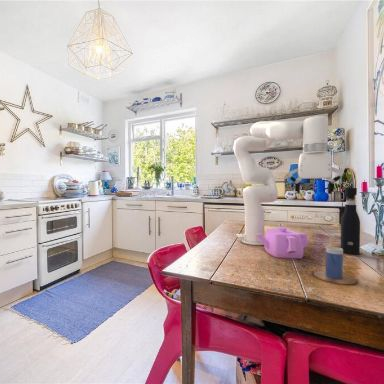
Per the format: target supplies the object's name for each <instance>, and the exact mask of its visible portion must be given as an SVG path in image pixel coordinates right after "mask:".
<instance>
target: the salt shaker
mask: <svg viewBox="0 0 384 384" xmlns="http://www.w3.org/2000/svg"><path fill="white" fill-rule="evenodd" d="M324 266H325V270H324V271H325V275H326V276H327V277H329V278H332V279H339V280H340V279H343V274H344V253H343V249H342V248H341V247H337V246H326V247H325V265H324Z"/></svg>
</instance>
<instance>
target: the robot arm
mask: <svg viewBox="0 0 384 384" xmlns="http://www.w3.org/2000/svg"><path fill="white" fill-rule="evenodd" d="M249 132H250V135H244V136H239V137H237V138H236V139H235V140H234V143H233V154H234V156H235V158H236V161H237V162H238V168H239V171H240V175H241V176H240V177H241V179H242V182H243V183H244V184H246V185H249V186H246V187H245V188H244V189H242V200H243V205H244V233H236V234H235V237H236V238H238V239H241V243H243V244H246V245H251V246H264V244H263V243H262V242H261V240H260V239H259V237H258V236H257V234H260V233H261V234H262V235H263V236H264V237H265V209H264V207H263V206H262V204H264V203H265V204H267V203H274V202H275V201H277V200H278V196H279V191H278V186H277V183H276V180H275V176H274V173H273V171H272V169H270V168H269V167H266V166H265V167H264V166H262V167H261V166H258V165H257V164H256V160H255V158H254V156H253V155H252V154H251V153H250V152H263V151H266V150H267V149H268V148H270V146H271V145H272V144H273V143H274V142H275V141H276V140H283V141H286V140H287V141H289V140H292V141H293V140H296V141H297V140H298V141H300V140H301V141H302V153H299V158H298V162H297V163H298V164H297V168H294V169H292V170H291V171H288V172H287V173H286V174H287V176H288V178H289V179H290V180H291V181H292V182H293V183H294V191H295V192H296V194H298V195H299V194H300V193H301V183H300V182H301V181H302V180H303V179H304V180H305V179H307V180H310V179H311V180H313V179H315V180H316V179H325V180H326V181H328V183H327V194H329V195H332V193H334V191H335V184H336V183H337V182H338V181H339V180H340V179H341V177H342V176H343V175H344V174H345V171H344V170H341V169H338V168H336V167H333V166H332V157H331V152H330V151H329V150H332V149H333V147H334V146H333V144H329V143H328V142H329V117H328V116H326V115H314V116H310V117H307V118H304V120H260V121H257V122H254V123H253V124H252V125H251V127H250V129H249ZM296 173H297V178H295V177H294V176H293V175H294V174H296ZM332 173H337V174H336V176H335V177H332Z"/></svg>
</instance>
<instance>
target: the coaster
mask: <svg viewBox="0 0 384 384" xmlns="http://www.w3.org/2000/svg"><path fill="white" fill-rule="evenodd" d="M313 276H314V277H315V278H317V279H319V280H321V281H324V282H327V283H331V284H336V285H337V284H338V285H346V286H348V285H349V286H351V285H355V284H356V283H357V279H355V278H354V277H353V276H350V275H347V274H344V273H343V279H340V280H339V279H332V278H329V277H327V276H326V275H325V270H317V271H314V272H313Z"/></svg>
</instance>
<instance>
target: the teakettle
mask: <svg viewBox="0 0 384 384" xmlns="http://www.w3.org/2000/svg"><path fill="white" fill-rule="evenodd" d="M257 236H258V237H259V239H260V240H261V242H262V243H263V244H264V245H263V248H264V250H265V252H267V254H269V255H270V256H271V257H274V258H277V259H298V260H299V259H303V257H304V249H305V248H307V247H309V242H308V241H309V240H308V234H307V233H305V232H297V231H294V230H291V229H288V227H284V226H279V227H278V228H275V229H274V228H270V229H269V228H268V229H266V230H265V234H264V236H263V235H262V234H261V233H260V234H257Z"/></svg>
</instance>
